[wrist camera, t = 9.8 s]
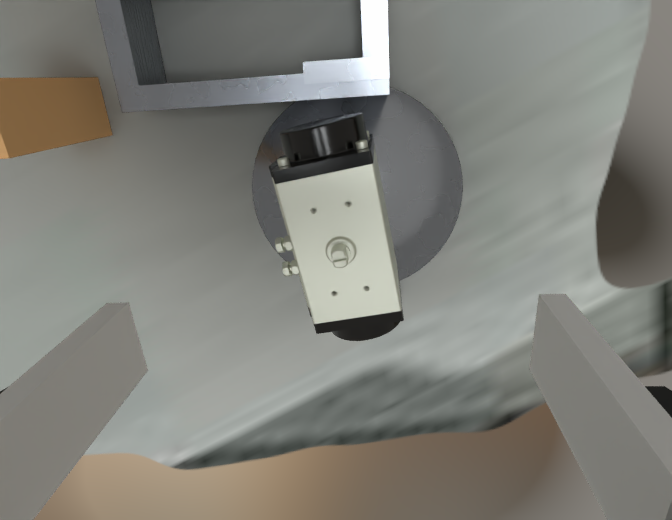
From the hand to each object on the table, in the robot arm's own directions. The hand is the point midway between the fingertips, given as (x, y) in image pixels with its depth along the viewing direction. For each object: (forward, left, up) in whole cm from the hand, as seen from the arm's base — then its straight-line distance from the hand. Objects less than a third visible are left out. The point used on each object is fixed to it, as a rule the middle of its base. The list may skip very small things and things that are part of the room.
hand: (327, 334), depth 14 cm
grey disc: (0, 0, -20) cm, 20 cm away
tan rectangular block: (-7, -20, -20) cm, 29 cm away
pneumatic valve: (0, -1, -19) cm, 19 cm away
